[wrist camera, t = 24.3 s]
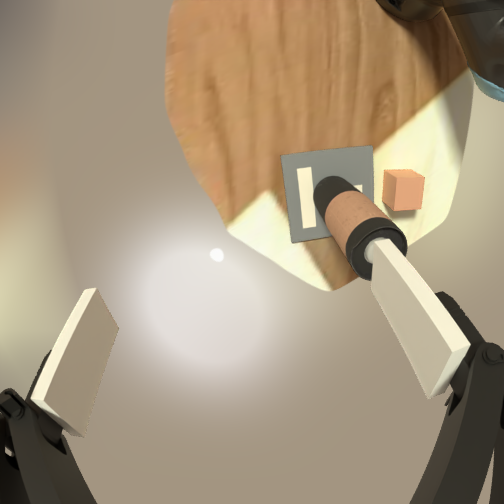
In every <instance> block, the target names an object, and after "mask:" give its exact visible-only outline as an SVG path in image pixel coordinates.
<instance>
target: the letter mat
mask: <svg viewBox="0 0 504 504" xmlns="http://www.w3.org/2000/svg"><path fill="white" fill-rule="evenodd" d="M280 156H281V164H282V171H283V178H284V186H285V193H286V201H287V209H288V218H289V226H290V235H291V242H292V243H294V242H300V241H305V240H311V239H317V238H323V237H329V236H332V234H331V233H330V231H329V230H328V228H327V226H326V224H325V223H324V221H323V219H322V217H321V215H320V213H319V212H318V210H317V208H316V206H315V204H314V201H313V192H314V189H315V187H316V185H317V184H318V183H319V181H321V180H322V179H324V178H325V177H328V176H339V177H342V178H344V179H345V180H347V181H348V182H349V183H351V184H352V185H353V186H354V187H356V188H357V189H358V190H359V191H361V192H362V193H363V194H364V195H366V196H367V197H368V198H369V199H370V200H371V201H372V202H373V203H374V172H373V146H371V145H370V146H358V147H347V148H336V149H327V150H318V151H310V152H302V153H294V154H287V155H280Z"/></svg>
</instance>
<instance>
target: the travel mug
mask: <svg viewBox="0 0 504 504" xmlns="http://www.w3.org/2000/svg"><path fill="white" fill-rule="evenodd" d="M313 201H314V204H315V206H316V208H317V210H318V212H319V213H320V215H321V217H322V219H323V221H324V223H325V224H326V226H327V228H328V230H329V231H330V233H331V234H332V236H333V237H334V239H335V241H336V242H337V244H338V245H339V247H340V249H341V250H342V252H343V253H344V255H345V257H346V258H347V260H348V262H349V263H350V265H351V267H352V268H353V270H354V272H355V273H356V274H357V275H358V276H359V277H361V278H363V279H365V280H369V281H371V280H372V268H373V254H374V241H379V240H385V239H390V240H391V242H392V243H393V244H394V245H395V246H396V247H397V249H398V250H399V251H400V252H401V253H402V254H403V256H404V257H406V253H407V240H406V237H405V235H404V234H403V232H402V231H401V230H400V229H399V228H398V227H397V226H396V225H395V224H394V223H393V222H392V221H391V220H390V219H389V218H388V217H387V216H386V215H385V214H384V213H383V212H382V211H381V210H380V209H379V208H378V207H377V206H376V205H375V204H374V203H373V202H372V201H371V200H370V199H369V198H368V197H367V196H366V195H364V194H363V193H362V192H361V191H359V190H358V189H357V188H356V187H354V186H353V185H352V184H351V183H349V182H348V181H347V180H345V179H344V178H342V177H339V176H328V177H325V178H324V179H322V180H321V181H319V183H318V184H317V185H316V187H315V189H314V192H313Z"/></svg>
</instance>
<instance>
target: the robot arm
mask: <svg viewBox="0 0 504 504" xmlns="http://www.w3.org/2000/svg"><path fill="white" fill-rule="evenodd" d="M376 1H377V2H378V3H379V4H380V5H381V6H382V7H383V8H385V9H386V10H387V11H388V12H390V13H391V14H393V15H394V16H396V17H398V18H400V19H403V20H406V21H410V22H422V21H426V20H430V19H432V18H434V17H435V16H436V15H437V14H438V13H439V12H440V11H441V10H442V9H443V8H444V10H445V12H446V13H447V15H448V18H449V20H450V22H451V24H452V26H453V28H454V30H455V33H456V35H457V37H458V39H459V42H460V44H461V46H462V49H463V51H464V54H465V56H466V59H467V64H468V67H469V69H470V71H471V72H472V74H473V77H474V79H475V82H476V84H477V86H478V87H479V89H480V90H481V91H482V92H483V93H484V94H486V95H488V96H489V97H491V98H493V99H496V100H498V101H502V102H504V0H376ZM371 291H372V293H373V295H374V296H375V298H376V300H377V302H378V303H379V305H380V307H381V308H382V310H383V312H384V314H385V316H386V318H387V319H388V321H389V323H390V325H391V327H392V329H393V330H394V332H395V334H396V336H397V338H398V340H399V342H400V344H401V346H402V347H403V349H404V351H405V353H406V355H407V357H408V359H409V361H410V363H411V365H412V367H413V369H414V371H415V373H416V375H417V378H418V380H419V382H420V384H421V386H422V388H423V390H424V392H425V394H426V397H427V399H430V398H432V397H435V396H437V395H440V394H442V393H444V392H445V390H446V389H447V387H448V386H449V384H450V385H451V387H452V388H453V392H452V393H451V395H450V396H449V398H448V399H447V401H446V403H445V406H447V405H448V408H447V411H446V415H445V418H444V421H443V424H442V427H441V430H440V433H439V436H438V439H437V442H436V444H435V447H434V450H433V452H432V455H431V457H430V460H429V462H428V465H427V467H426V470H425V472H424V474H423V476H422V479H421V481H420V483H419V485H418V488H417V489H416V491H415V494H414V496H413V498H412V500H411V501H410V504H477V501H478V499H479V496H480V493H481V490H482V487H483V484H484V481H485V478H486V475H487V472H488V468H489V464H490V461H491V458H492V454H493V450H494V465H493V466H494V467H493V477H492V486H491V494H490V501H489V504H504V350H503V349H502V348H500V346H498V345H496V344H494V343H487V342H485V340H484V339H483V338H482V336H481V335H480V334H479V332H478V331H477V329H476V328H475V326H474V325H473V324H472V322H471V321H470V320H469V318H468V317H467V316H465V313H464V312H463V310H462V309H460V306H459V305H458V304H457V303H456V301H455V300H454V299H453V298H452V297H451V296H449V295H448V294H446V293H445V292H443V291H442V292H438V293H435V294H434V293H433V291H432V290H431V289H430V288H429V286H428V285H427V284H426V282H425V281H424V280H423V279H422V277H420V275H419V274H418V272H417V271H416V270H415V269H414V267H413V266H412V265H411V264H410V263H409V262H408V260H407V259H406V258H405V257H404V256H403V254H402V253H401V252H400V251H399V250H398V249H397V247H396V246H395V245H394V244H393V243H392V242H391V240H390V239H385V240H379V241H374V254H373V268H372V280H371ZM118 330H119V327H118V326H117V324H116V322H115V320H114V319H113V317H112V315H111V313H110V312H109V310H108V308H107V306H106V304H105V303H104V300H103V299H102V297H101V295H100V293H99V291H98V289H97V288H92V289H85V290H84V292H83V294H82V296H81V297H80V299H79V301H78V303H77V304H76V306H75V308H74V309H73V311H72V313H71V315H70V317H69V318H68V321H67V322H66V324H65V326H64V328H63V330H62V332H61V333H60V335H59V337H58V339H57V341H56V343H55V345H54V347H53V349H52V350H50V352H49V353H48V354H47V355H46V356H45V358H44V359H43V361H42V364H41V366H40V369H39V370H38V372H37V376H35V379H34V381H33V383H32V385H31V388H30V390H29V393H28V395H27V397H26V399H25V401H24V400H23V399H22V398H21V397H20V396H19V395H18V393H17V392H15V390H13V389H12V388H8V389H5V390H4V391H3V392H1V393H0V412H1V413H2V414H1V413H0V504H97V503H96V501H95V499H94V497H93V495H92V494H91V492H90V490H89V488H88V486H87V484H86V482H85V480H84V478H83V476H82V474H81V472H80V470H79V468H78V466H77V464H76V461H75V459H74V457H73V455H72V452H71V450H70V448H69V445H68V443H67V440H66V438H65V437H64V435H62V434H61V433H62V430H63V429H64V430H66V431H67V432H68V433H69V434H70V435H73V436H79V437H85V434H86V430H87V426H88V423H89V419H90V415H91V412H92V408H93V405H94V402H95V398H96V395H97V392H98V388H99V385H100V382H101V379H102V376H103V373H104V370H105V367H106V364H107V361H108V358H109V355H110V352H111V349H112V346H113V344H114V341H115V338H116V335H117V333H118ZM448 403H449V404H448ZM5 447H6V448H7V449H9V450H10V451H11V452H12V455H11V456H9V455H8V454H6V453H5Z"/></svg>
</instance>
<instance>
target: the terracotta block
mask: <svg viewBox="0 0 504 504" xmlns="http://www.w3.org/2000/svg"><path fill="white" fill-rule="evenodd" d="M424 180H425V177H423V176H422V175H420V174H418V173H416V172H415V171H413V170H411V169H403V170H384V179H383V194H382V201H383V202H384V203H385V204H386V205H388V206H389V207H390V208H391V209H392V210H393V211H401V210H414V209H421V206H422V198H423V190H424Z"/></svg>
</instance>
